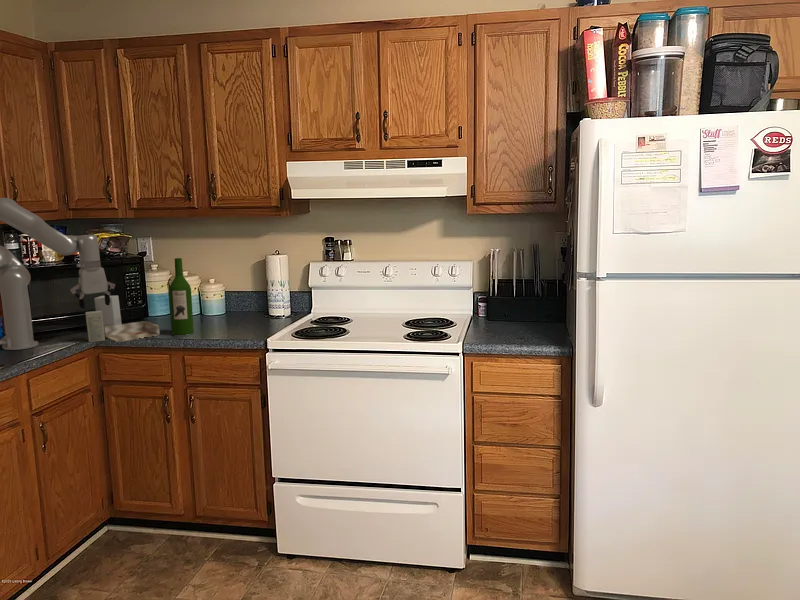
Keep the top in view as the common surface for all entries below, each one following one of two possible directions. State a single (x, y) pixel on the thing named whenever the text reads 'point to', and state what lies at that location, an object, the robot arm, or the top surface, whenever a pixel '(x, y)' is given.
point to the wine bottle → (180, 302)
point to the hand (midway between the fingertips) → (95, 306)
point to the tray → (131, 331)
